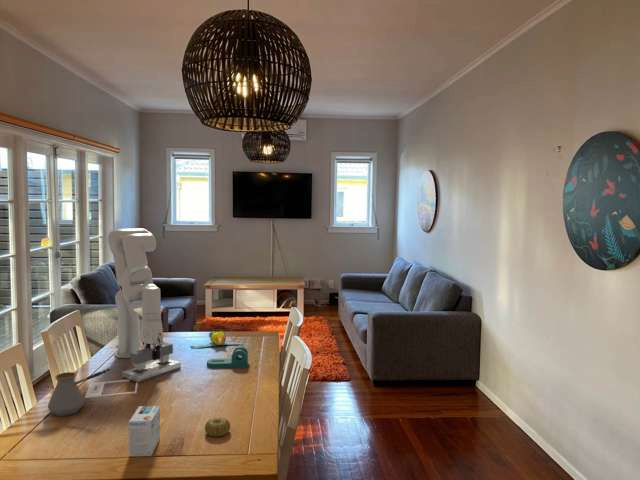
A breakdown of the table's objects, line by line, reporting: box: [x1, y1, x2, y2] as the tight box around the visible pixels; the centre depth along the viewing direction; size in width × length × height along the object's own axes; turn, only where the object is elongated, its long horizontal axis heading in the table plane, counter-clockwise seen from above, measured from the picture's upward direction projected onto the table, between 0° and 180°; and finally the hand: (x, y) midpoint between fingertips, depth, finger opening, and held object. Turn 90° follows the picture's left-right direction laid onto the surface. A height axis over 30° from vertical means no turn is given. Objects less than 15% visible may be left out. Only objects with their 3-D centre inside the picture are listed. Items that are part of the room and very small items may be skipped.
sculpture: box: [204, 417, 231, 437], centre depth 157 cm, size 8×4×8 cm
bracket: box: [206, 345, 249, 369], centre depth 220 cm, size 18×7×8 cm, turn 95°
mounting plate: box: [121, 358, 182, 385], centre depth 209 cm, size 10×22×3 cm, turn 146°
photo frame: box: [84, 379, 139, 399], centre depth 192 cm, size 15×1×18 cm
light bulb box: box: [127, 405, 161, 457], centre depth 147 cm, size 11×7×11 cm, turn 5°
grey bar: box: [129, 342, 174, 370], centre depth 208 cm, size 4×18×7 cm, turn 146°
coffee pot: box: [47, 368, 113, 417], centre depth 171 cm, size 21×12×15 cm, turn 96°
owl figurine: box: [190, 328, 247, 350], centre depth 251 cm, size 28×9×15 cm
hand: (152, 357), depth 208 cm, fingers closed on grey bar, 4 cm apart
